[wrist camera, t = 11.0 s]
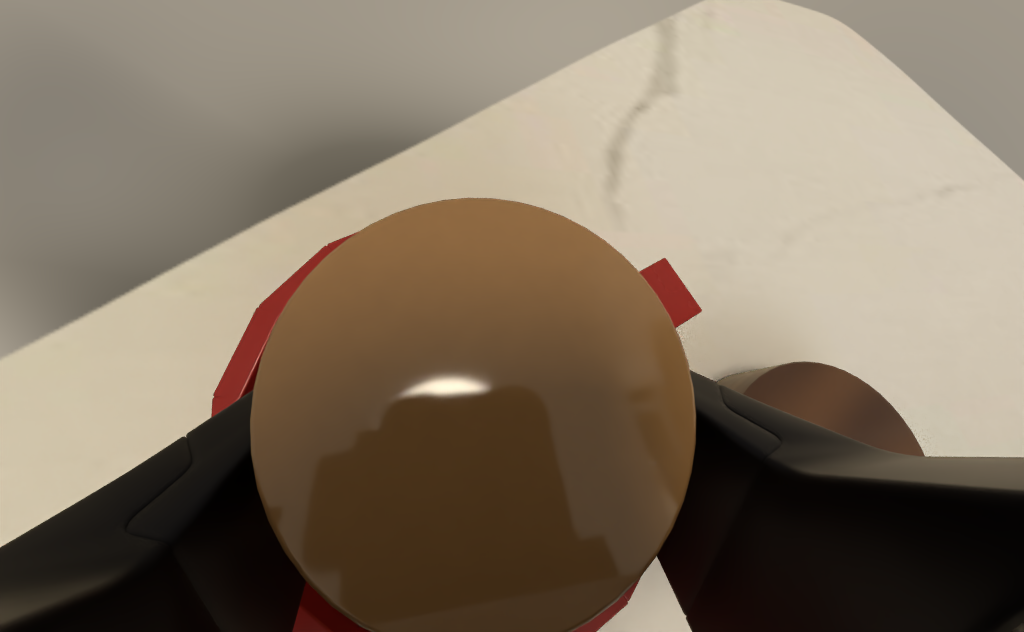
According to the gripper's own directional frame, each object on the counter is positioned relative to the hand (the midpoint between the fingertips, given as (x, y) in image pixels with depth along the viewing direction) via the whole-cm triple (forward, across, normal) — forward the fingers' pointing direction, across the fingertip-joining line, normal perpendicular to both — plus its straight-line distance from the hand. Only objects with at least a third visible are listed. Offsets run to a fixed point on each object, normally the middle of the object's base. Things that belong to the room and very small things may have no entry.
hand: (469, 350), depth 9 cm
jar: (+1, 0, +3) cm, 3 cm away
